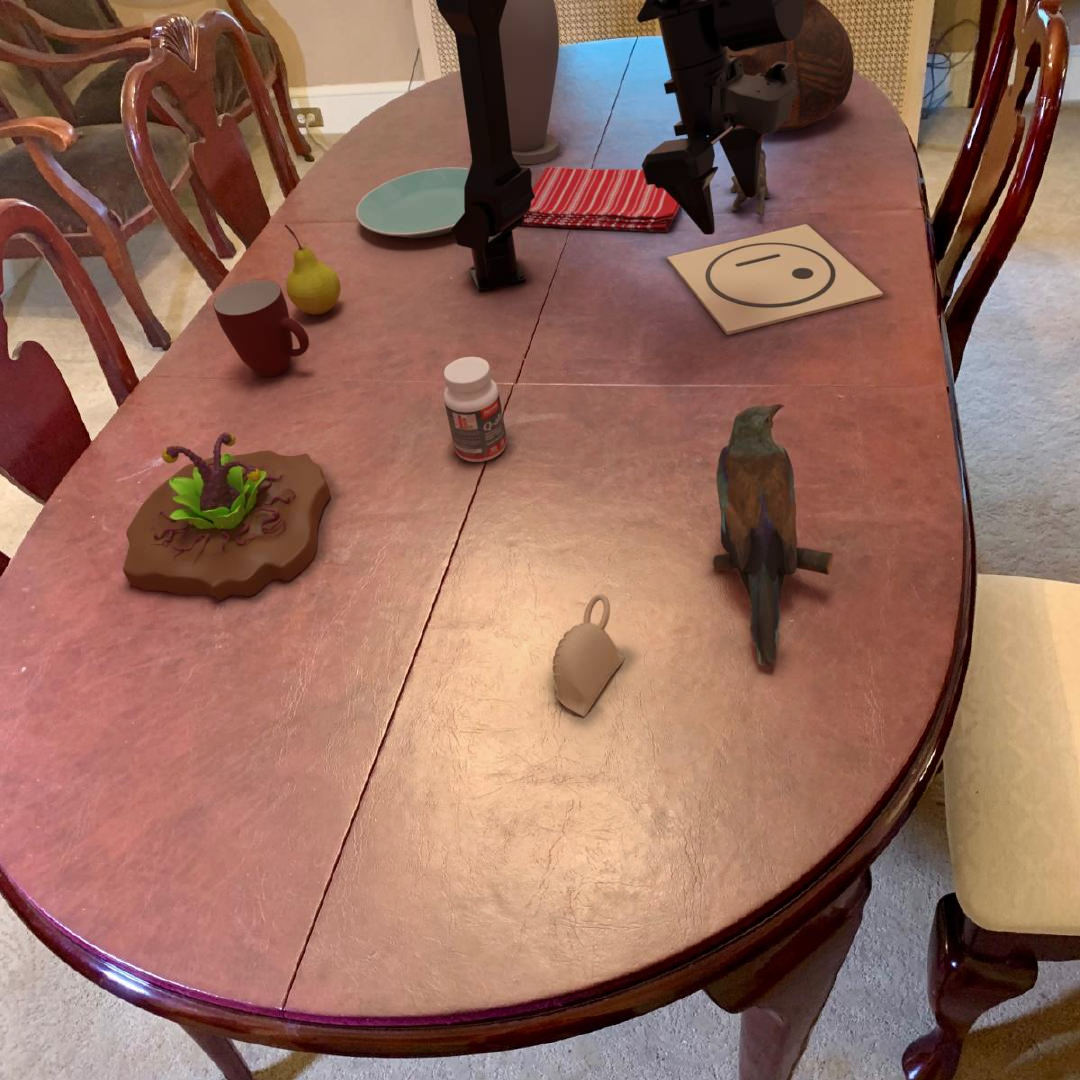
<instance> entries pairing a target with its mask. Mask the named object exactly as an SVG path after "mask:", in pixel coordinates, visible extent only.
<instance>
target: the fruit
mask: <svg viewBox="0 0 1080 1080" xmlns="http://www.w3.org/2000/svg"><path fill="white" fill-rule="evenodd" d="M284 227H285V228H286V229H287V230H288V232H289V233H290V234H291V235H292V236H293V238H294V239H295V241H296V243H297V246H298V248H296V249H295V251H294V253H293V262H294V264H293V267H292V268H291V270H290V271H289V273H288V275H287V278H286V284H285V285H286V293H287V296H288V298H289V300H290V301H291V303H292V304H293V305H294V306H295V307H296V308H297V309H298V310H299V311H302V312H303V313H306V314H309V315H312V316H319V315H324V314H326V313H327V312H329V311H330V310H331V309H332V308H333V307H334V306H335V305H336V304H337V302H338V300H339V298H340V295H341V290H342V289H341V282H340V278H339V276H338V273H337V272H336V270H335V269H334V268H332V267H330V266H329V265H328V264H326V263H325V262H322V261H320V260H318V259H317V257H316V255H315V253H314V252H313V250H311V249H310V248H308V247H306V246H302V245H301V243H300V241H299V239H298V237H297V235H296V234H295V232H294V231H293V230H292V229H291V228H290V227H289V225H288V224H286V223H285V224H284Z"/></svg>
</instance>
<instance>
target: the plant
mask: <svg viewBox="0 0 1080 1080" xmlns="http://www.w3.org/2000/svg"><path fill="white" fill-rule="evenodd" d="M236 440H237V439H236V436H235V435H234V434H233V433H231V432H223V433H220V434H219V437H217V439H216V441H215V444H214V445H213V450H212V454H213V457H209V458H206V459H203V458H202V457H201V456H199V455H198V454H196V452H194V451H192V450H191V449H190V448H186V447H184V446H183V445H181V446H179V445H171V446H167V447H166V448H164V450H163V451H162V452H161V458H162V460H163V462H165V463H167V464H173V463H176V462H177V461H178V459H179V457H180V454H183V455H184V456H185V457H188V459H189V461H190V462H192V463H189V464H186V465H184V466H183V467H182V468H181V469H180V470H179V471H177V472H175V474H173V475H172V476H170V477H169V478H168V479H166V480H165V481H164V482H163V483H161V484H159V486H158V487H157V488H156V489H154V490H153V491H152V493H151V494H150V495H149V496H148V497H147V498H146V499H145V501H144V502H143V503H142V504H141V505H140V507H139V510H138V511H137V513H136V515H135V516H134V518H132V521H131V522H130V524H129V526H128V528H127V529H126V537H127V540H128V542H129V546H128V549H127V553H126V558H125V561H124V565H123V568H122V573H123V574H124V576H125V577H126V579H127V581H128V583H129V585H130V586H132V587H136V588H139V589H141V590H143V591H148V592H150V591H151V592H152V591H166V592H170V593H173V594H176V595H193V596H194V595H210V596H213V597H214V598H216V599H217V600H219V601H222V600H224V599H226V598H228V597H231V596H235V595H239V596H245V597H251V596H255V595H256V594H258V593H259V592H260V591H261V590H262V589H263V588H264V587H265V586H266V585H268V583H270V582H272V581H273V580H281V581H287V582H288V581H290V580H292V579H293V578H295V577H296V576H298V574H301V573H302V571H304V569H307V567H308V566H309V565H310V563H311V562H312V561H313V560H314V557H315V555H316V552H317V548H318V528H319V524H320V520H321V517H322V514H323V511H324V508H325V506H326V504H327V503H328V502H329V500H330V499H331V494H332V493H331V490H330V487H329V484H328V482H327V480H326V478H325V475H324V472H323V470H322V468H321V466H320V465H318V464H317V463H316V462H315V461H313V460H312V459H311V457H310V455H309V454H308V453H302V454H298V455H282V454H279V453H276V452H274V451H272V450H260V451H255V452H250V453H244V454H243V453H242V454H236V455H235V454H234V455H233V454H231V453H229V452H225V453H223V454H222V453H221V451H222V444H223V445H224V446H226V447H232V446H234V445H235V444H236V442H237V441H236Z"/></svg>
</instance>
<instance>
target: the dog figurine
mask: <svg viewBox="0 0 1080 1080" xmlns="http://www.w3.org/2000/svg"><path fill="white" fill-rule="evenodd" d="M766 159H767V158H766V152H765V150H764V149H762V148H761V153H760V161H759V171H758V181H757V191H756V195H755V196H754V197H749V198H747V197H746V196H745V195H744V193H743V191H742V189H741V187H740V185H739V183H738V181H737V179H736V177H735V175H733V176H732V177H731V181H732V183H733V185H732V186H731V187H730V192H731V193H735V192H736V193H737V195H736V197H735V199H734V200H733V204H732V206H731V208H730V211H732V212H738V210H739V209H740V207H741V205H742V204H743V203H744V202H746V201H747V200H748V199H754V198H755V197H756V196H758V198H759V199H758V203H757V210H756V214H757V215H759V216H764V214H765V199H770V198H771V194H770V192H769V188H768V185H767V184H768V183H767V182H768V181H767V166H766Z"/></svg>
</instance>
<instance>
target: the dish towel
mask: <svg viewBox="0 0 1080 1080" xmlns="http://www.w3.org/2000/svg"><path fill="white" fill-rule="evenodd" d="M532 190H533V193H534V195H535V198H534V199H533V200H531V207H530V209H529V210H528V212H527V213H526V214H525V217H524V223H523V224H521V225H520V226H528V227H548V228H549V227H556V228H572V229H573V228H577V229H591V230H592V229H594V230H615V231H618V230H619V231H631V232H652V233H653V232H658V233H667V232H669V229H670V226H671V224H672V222H673V220H674V219H675V218H676V215H677V214H678V212H679V209H680V207H681V206H680V205H679V204H678V203H677V202H676V201H675V200H674V199H673V198H672V197H671V196H670V195H669V194H668V193H667V192H666V191H665V190H664V189H663V188H656V186H655V184H654V185H647V184H646V180H645V176H644V173H643V169H642V168H641V169H640V168H639V169H637V168H635V169H632V168H631V169H629V168H619V169H616V168H615V169H614V168H611V169H610V168H605V169H603V168H602V169H600V168H599V169H597V168H588V169H587V168H569V167H561V166H557V167H556V166H555V167H554V166H547V167H545V168H544V171H543V172H542V174H541V175H540V177H539V179H538V180H537V181H536V183H535V184H534V186H533V187H532Z"/></svg>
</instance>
